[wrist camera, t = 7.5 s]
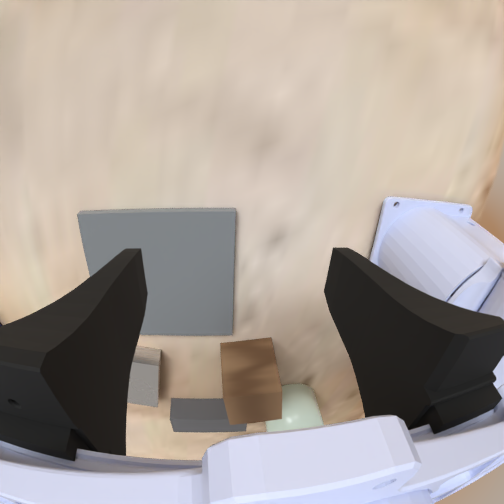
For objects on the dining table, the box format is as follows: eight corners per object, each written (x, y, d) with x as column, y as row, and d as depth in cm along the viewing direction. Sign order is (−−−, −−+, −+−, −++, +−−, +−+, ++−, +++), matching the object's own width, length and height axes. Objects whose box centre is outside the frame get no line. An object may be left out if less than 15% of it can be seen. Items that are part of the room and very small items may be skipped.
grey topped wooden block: (109, 337, 26) (103, 356, 24) (161, 346, 27) (158, 366, 25) (114, 381, 30) (110, 399, 28) (159, 389, 31) (157, 407, 29)
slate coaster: (235, 208, 21) (235, 211, 21) (231, 330, 27) (232, 335, 26) (80, 211, 20) (77, 214, 19) (107, 328, 25) (106, 333, 25)
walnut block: (271, 337, 28) (282, 391, 22) (272, 368, 30) (281, 418, 25) (220, 342, 27) (223, 398, 22) (226, 373, 30) (230, 425, 24)
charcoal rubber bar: (244, 396, 32) (247, 418, 30) (243, 409, 34) (246, 431, 31) (171, 396, 31) (169, 419, 29) (174, 410, 33) (173, 431, 30)
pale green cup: (319, 380, 32) (330, 418, 28) (309, 409, 35) (318, 443, 31) (264, 385, 31) (271, 425, 27) (260, 413, 34) (265, 449, 30)
